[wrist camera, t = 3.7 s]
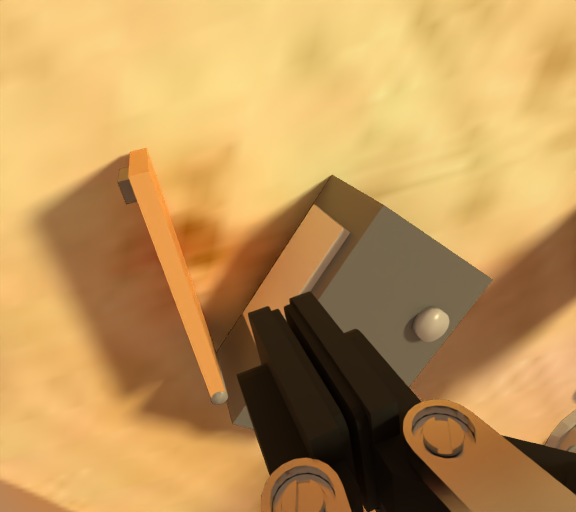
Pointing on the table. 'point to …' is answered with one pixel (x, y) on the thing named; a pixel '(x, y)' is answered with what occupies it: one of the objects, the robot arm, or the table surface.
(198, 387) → the table surface
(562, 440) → the french press
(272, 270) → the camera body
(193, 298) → the side door
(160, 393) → the table surface
